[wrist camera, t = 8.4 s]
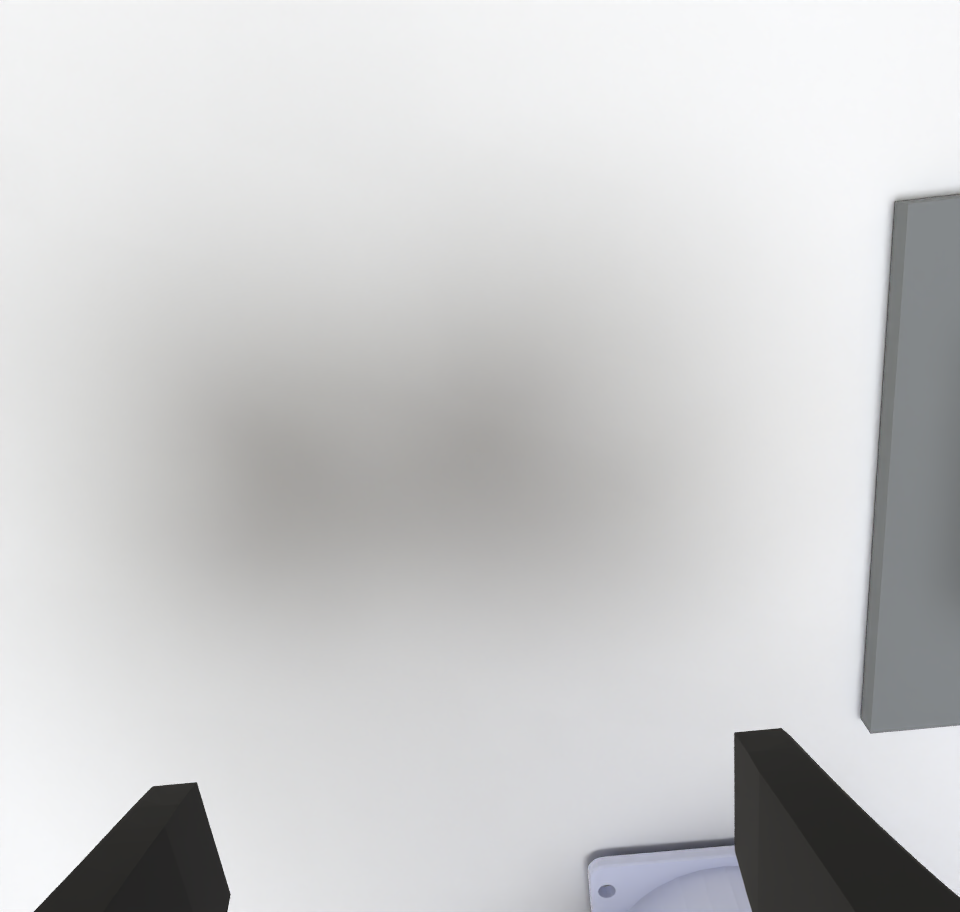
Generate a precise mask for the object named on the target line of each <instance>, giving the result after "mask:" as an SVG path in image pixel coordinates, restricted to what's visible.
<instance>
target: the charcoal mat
mask: <svg viewBox="0 0 960 912" xmlns="http://www.w3.org/2000/svg"><path fill="white" fill-rule="evenodd" d="M861 720H862V721H863V723H864V724H865V726H866V727H867V729H868V730H869V732H870V733H881V732H892V731H903V730H914V729H924V728H935V727H946V726H957V725H960V194H957V195H948V196H940V197H931V198H923V199H914V200H905V201H897V202H895V213H894V228H893V243H892V258H891V273H890V288H889V304H888V319H887V334H886V349H885V364H884V379H883V394H882V410H881V425H880V440H879V455H878V470H877V485H876V500H875V516H874V531H873V546H872V561H871V576H870V591H869V606H868V622H867V637H866V652H865V667H864V682H863V697H862V712H861Z"/></svg>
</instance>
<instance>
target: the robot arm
mask: <svg viewBox="0 0 960 912" xmlns="http://www.w3.org/2000/svg"><path fill="white" fill-rule="evenodd" d="M734 773H735V845H731V846H720V847H708V848H697V849H685V850H674V851H662V852H651V853H640V854H628V855H617V856H605V857H600V858H597V859H595V860H593V861H592V862H591V863H590V865H589V866H588V880H589V892H590V903H591V912H960V897H958V896H957V895H956V894H955V893H954V892H953V891H951V890H950V889H949V888H948V887H947V886H945V885H944V884H943V883H942V882H941V881H940V880H939V879H937V878H936V877H935V876H934V875H933V874H932V873H931V872H930V871H928V870H927V869H926V868H925V867H924V866H923V865H922V864H921V863H919V862H918V861H917V860H916V859H915V858H914V857H913V856H912V855H911V854H910V853H909V852H908V851H906V850H905V849H904V848H903V847H902V846H901V845H900V844H899V843H898V842H897V841H896V840H895V839H893V838H892V837H891V836H890V835H889V834H888V833H887V832H886V831H885V830H884V829H883V828H882V827H881V826H879V825H878V824H877V823H876V822H875V821H874V820H873V819H872V818H871V817H870V816H869V815H868V814H867V813H866V812H865V811H864V810H863V809H862V808H861V807H860V806H859V805H858V804H857V803H856V802H855V801H854V800H853V799H852V798H851V797H850V796H849V795H848V794H847V793H846V792H845V791H844V790H843V789H842V788H841V787H840V786H839V785H838V784H836V783H835V781H834V780H833V779H832V778H831V777H830V776H829V775H828V774H827V773H826V772H825V771H824V770H823V769H822V768H821V767H820V766H819V765H818V764H817V763H816V762H815V761H814V760H813V759H812V758H811V757H810V756H809V755H808V754H807V753H806V752H805V751H804V750H803V749H802V748H801V746H800V745H799V744H798V743H797V742H796V741H795V740H794V739H793V738H792V737H791V736H790V735H789V734H788V733H786V732H785V731H784V730H783V729H782V728H778V729H768V730H757V731H746V732H735V733H734ZM604 885H610V886H606V887H603V886H604ZM229 900H230V891H229V888H228V885H227V881H226V878H225V875H224V871H223V868H222V865H221V861H220V858H219V855H218V852H217V848H216V845H215V842H214V838H213V835H212V832H211V828H210V825H209V822H208V818H207V815H206V812H205V808H204V805H203V802H202V798H201V795H200V792H199V788H198V785H197V782H195V783H184V784H174V785H163V786H153V787H152V788H151V789H150V790H149V791H148V792H147V793H146V794H145V795H144V796H143V797H142V798H141V799H140V800H139V801H138V802H137V803H136V804H135V805H134V806H133V807H132V808H131V809H130V810H129V811H128V812H127V813H126V815H125V816H124V817H123V818H122V819H121V820H120V821H119V822H118V823H117V824H116V825H115V826H114V827H113V828H112V830H111V831H110V832H109V833H108V834H107V835H106V836H105V837H104V838H103V839H102V840H101V841H100V842H99V844H98V845H97V846H96V847H95V848H94V849H93V850H92V851H91V852H90V853H89V854H88V855H87V856H86V857H85V859H84V860H83V861H82V862H81V863H80V864H79V865H78V866H77V867H76V868H75V869H74V870H73V871H72V872H71V873H70V874H69V875H68V876H67V878H66V879H65V880H64V881H63V882H62V883H61V884H60V885H59V886H58V887H57V888H56V889H55V890H54V891H53V892H52V893H51V894H50V895H49V896H48V897H47V898H46V899H45V901H44V902H43V903H42V904H41V905H40V906H39V907H38V908H37V909H36V910H35V911H34V912H227V910H228V905H229Z"/></svg>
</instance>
